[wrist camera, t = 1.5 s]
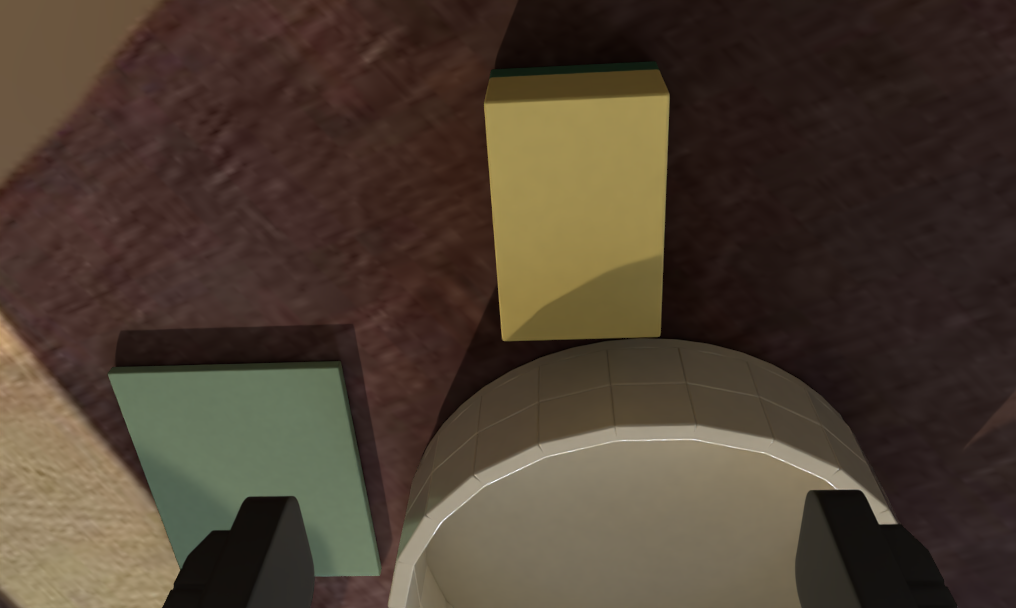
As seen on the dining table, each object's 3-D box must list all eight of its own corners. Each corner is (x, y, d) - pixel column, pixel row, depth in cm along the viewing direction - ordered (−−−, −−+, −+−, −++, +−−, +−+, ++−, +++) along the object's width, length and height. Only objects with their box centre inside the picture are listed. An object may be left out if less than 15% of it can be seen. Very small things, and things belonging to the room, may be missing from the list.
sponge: (490, 69, 23) (483, 101, 20) (656, 60, 22) (670, 92, 20) (506, 290, 26) (502, 342, 24) (649, 285, 26) (660, 337, 23)
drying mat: (112, 366, 29) (106, 373, 28) (341, 360, 28) (338, 367, 28) (186, 570, 34) (182, 577, 33) (381, 568, 33) (380, 576, 33)
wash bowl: (379, 344, 28) (352, 431, 24) (913, 329, 26) (975, 418, 23) (434, 673, 36) (420, 776, 32) (837, 673, 35) (873, 779, 31)
